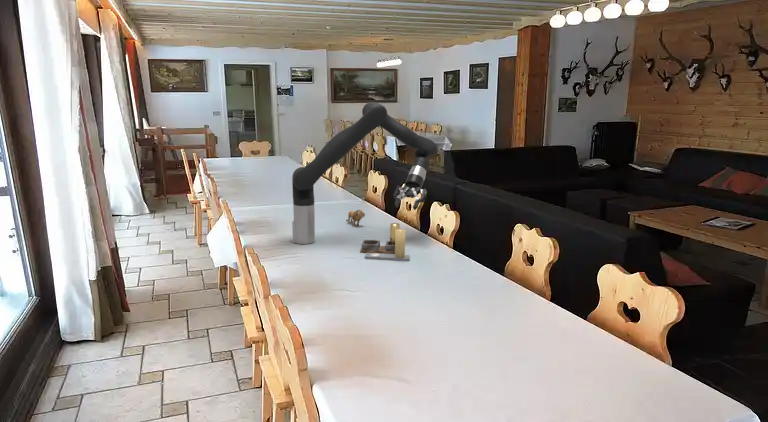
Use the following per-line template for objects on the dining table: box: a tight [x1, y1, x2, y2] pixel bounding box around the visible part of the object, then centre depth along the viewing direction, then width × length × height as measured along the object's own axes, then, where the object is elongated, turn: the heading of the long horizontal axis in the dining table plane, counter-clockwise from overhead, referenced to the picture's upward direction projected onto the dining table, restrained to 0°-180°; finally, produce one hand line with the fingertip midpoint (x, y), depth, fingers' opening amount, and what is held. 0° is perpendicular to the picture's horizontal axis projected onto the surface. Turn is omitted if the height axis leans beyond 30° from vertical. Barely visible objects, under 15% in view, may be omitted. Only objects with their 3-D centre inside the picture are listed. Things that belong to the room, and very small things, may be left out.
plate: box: [364, 228, 411, 262], centre depth 205 cm, size 18×5×12 cm, turn 84°
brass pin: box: [389, 222, 401, 245], centre depth 214 cm, size 4×4×11 cm
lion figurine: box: [345, 209, 366, 228], centre depth 257 cm, size 15×5×9 cm, turn 38°
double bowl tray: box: [359, 239, 395, 254], centre depth 215 cm, size 18×8×4 cm, turn 84°
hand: (405, 207), depth 220 cm, fingers open, 8 cm apart
